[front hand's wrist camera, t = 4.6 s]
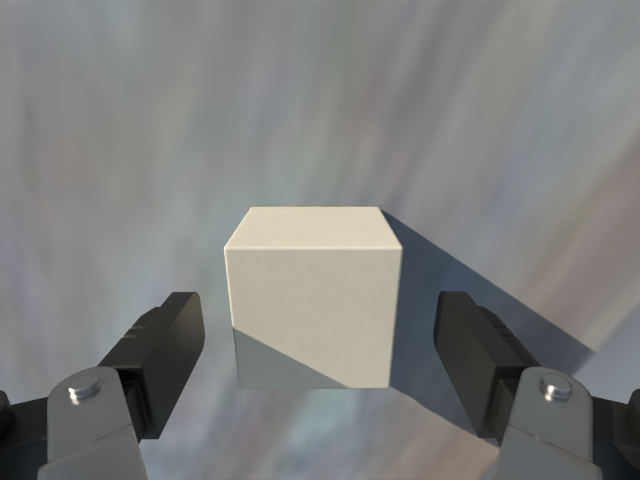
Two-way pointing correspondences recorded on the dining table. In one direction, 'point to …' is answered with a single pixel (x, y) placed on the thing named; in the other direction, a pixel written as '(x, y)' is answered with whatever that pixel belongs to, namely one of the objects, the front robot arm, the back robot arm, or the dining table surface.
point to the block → (314, 297)
